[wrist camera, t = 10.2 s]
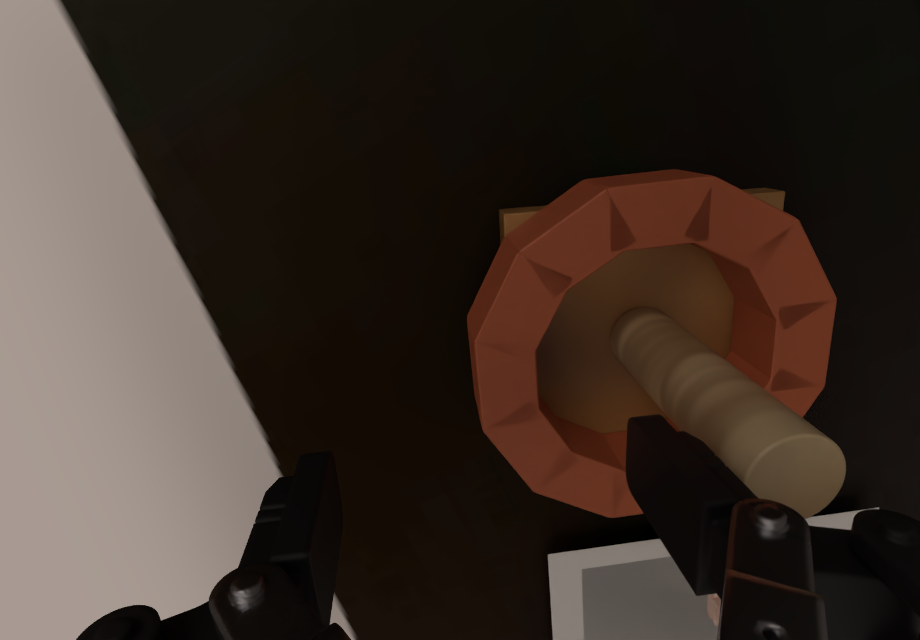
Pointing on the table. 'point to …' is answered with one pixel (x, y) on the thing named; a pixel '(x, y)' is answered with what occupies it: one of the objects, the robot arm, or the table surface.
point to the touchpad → (636, 592)
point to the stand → (677, 368)
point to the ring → (591, 247)
